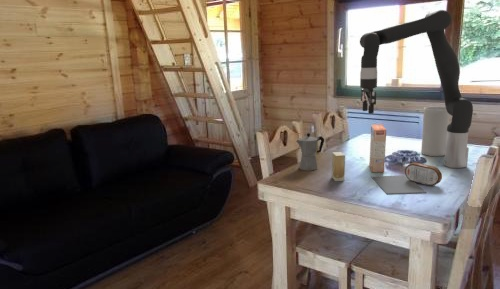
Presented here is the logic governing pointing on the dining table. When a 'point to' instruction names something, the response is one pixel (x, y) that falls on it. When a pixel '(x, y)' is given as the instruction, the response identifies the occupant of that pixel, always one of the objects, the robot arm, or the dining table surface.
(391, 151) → the dining table surface
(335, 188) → the dining table surface
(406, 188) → the mat
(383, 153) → the cracker box
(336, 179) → the skincare box
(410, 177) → the tin
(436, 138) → the cylinder vase
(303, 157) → the coffeepot
